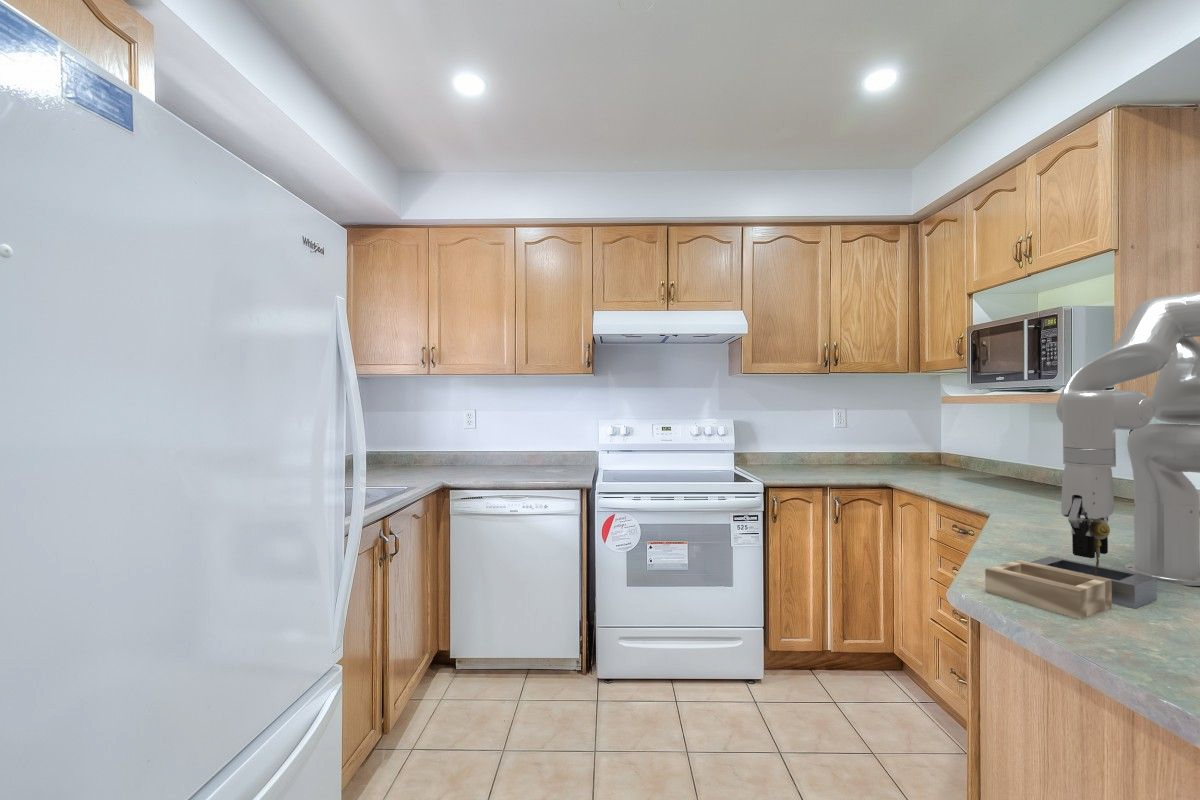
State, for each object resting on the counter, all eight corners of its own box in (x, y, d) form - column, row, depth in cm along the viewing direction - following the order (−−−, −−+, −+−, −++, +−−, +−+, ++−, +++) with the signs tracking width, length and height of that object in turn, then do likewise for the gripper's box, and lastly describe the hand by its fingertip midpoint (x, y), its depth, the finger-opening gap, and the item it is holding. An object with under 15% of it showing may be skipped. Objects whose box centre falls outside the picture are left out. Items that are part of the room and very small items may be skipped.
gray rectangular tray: (1050, 575, 116) (1050, 556, 116) (1156, 599, 102) (1156, 577, 102) (1027, 583, 111) (1027, 562, 111) (1134, 609, 97) (1134, 585, 97)
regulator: (1116, 586, 102) (1116, 503, 103) (1091, 584, 103) (1091, 502, 103) (1089, 574, 110) (1089, 497, 110) (1066, 573, 110) (1066, 496, 111)
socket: (1019, 585, 109) (1018, 559, 109) (1111, 608, 97) (1111, 579, 97) (985, 596, 103) (985, 568, 103) (1079, 622, 91) (1079, 591, 91)
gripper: (1084, 453, 114) (1085, 543, 114) (1043, 458, 106) (1044, 556, 106) (1133, 456, 107) (1134, 552, 107) (1093, 462, 99) (1095, 566, 99)
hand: (1090, 553), depth 106 cm, fingers closed on regulator, 4 cm apart
